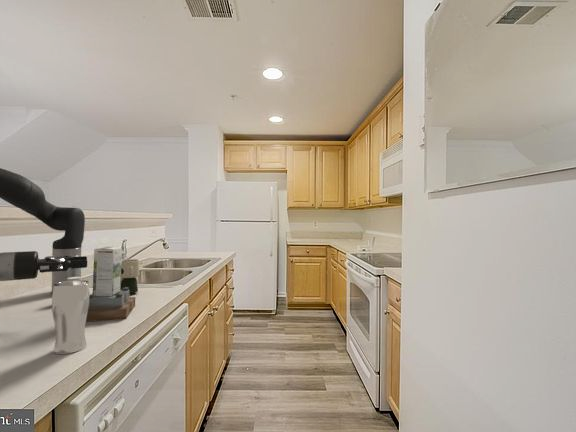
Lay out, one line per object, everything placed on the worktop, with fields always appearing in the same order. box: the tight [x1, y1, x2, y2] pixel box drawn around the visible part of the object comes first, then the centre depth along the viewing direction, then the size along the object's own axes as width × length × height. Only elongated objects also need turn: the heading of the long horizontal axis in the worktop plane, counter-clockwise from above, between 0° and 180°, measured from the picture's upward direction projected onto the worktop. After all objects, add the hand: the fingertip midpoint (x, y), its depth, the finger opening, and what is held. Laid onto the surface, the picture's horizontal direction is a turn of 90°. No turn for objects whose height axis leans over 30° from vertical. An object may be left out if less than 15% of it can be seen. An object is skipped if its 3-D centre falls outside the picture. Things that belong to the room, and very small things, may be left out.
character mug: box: [121, 258, 140, 296], centre depth 115 cm, size 11×7×13 cm, turn 36°
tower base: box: [86, 287, 136, 323], centre depth 92 cm, size 13×13×7 cm
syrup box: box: [92, 246, 123, 297], centre depth 92 cm, size 6×6×14 cm
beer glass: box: [51, 279, 91, 355], centre depth 68 cm, size 7×7×15 cm
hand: (87, 261), depth 89 cm, fingers open, 8 cm apart
